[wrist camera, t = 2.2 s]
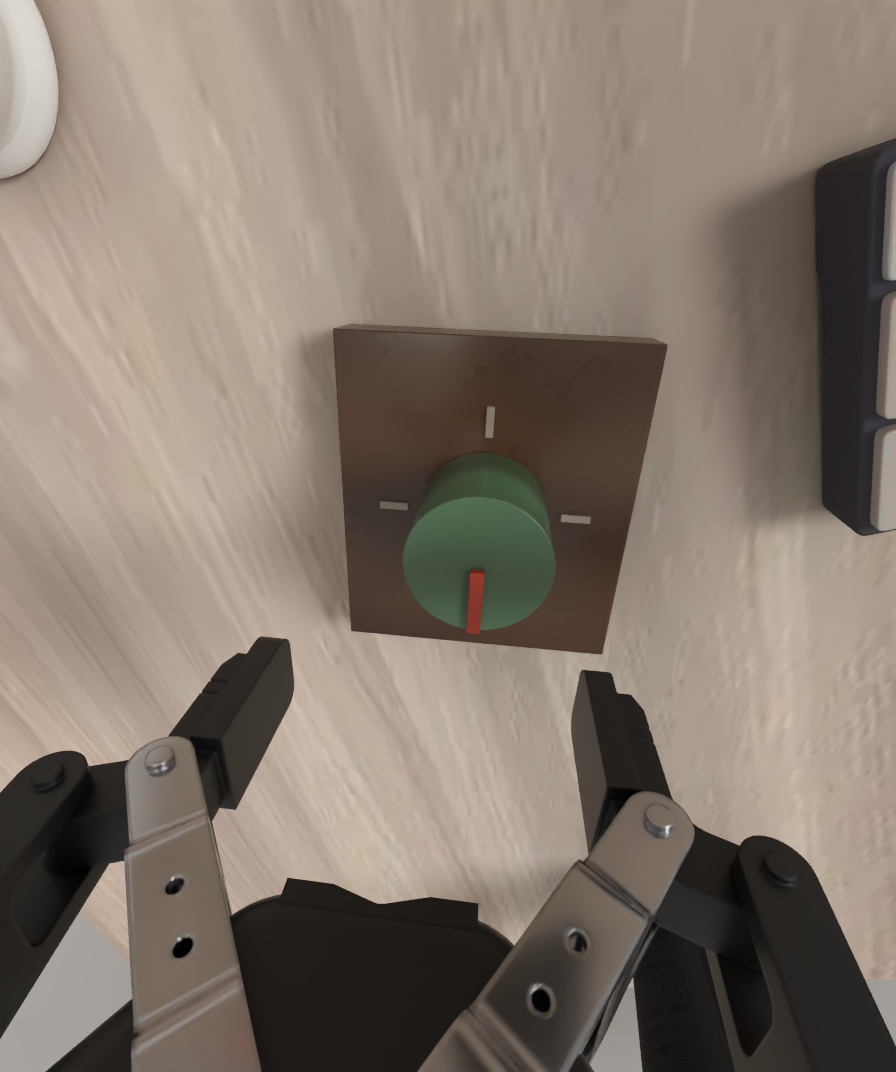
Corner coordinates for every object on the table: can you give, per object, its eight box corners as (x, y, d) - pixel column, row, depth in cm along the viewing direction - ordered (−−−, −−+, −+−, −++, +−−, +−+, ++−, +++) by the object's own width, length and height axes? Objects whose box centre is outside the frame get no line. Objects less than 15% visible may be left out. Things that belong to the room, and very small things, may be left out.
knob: (423, 447, 24) (400, 494, 19) (553, 456, 24) (566, 506, 18) (421, 560, 27) (400, 628, 22) (538, 570, 26) (546, 641, 21)
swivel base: (348, 323, 24) (331, 328, 22) (653, 338, 23) (669, 345, 21) (362, 606, 32) (350, 633, 29) (595, 627, 30) (602, 657, 28)
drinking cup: (594, 847, 39) (666, 1320, 21) (701, 837, 38) (875, 1343, 20) (613, 906, 42) (689, 1364, 24) (712, 900, 41) (872, 1387, 23)
